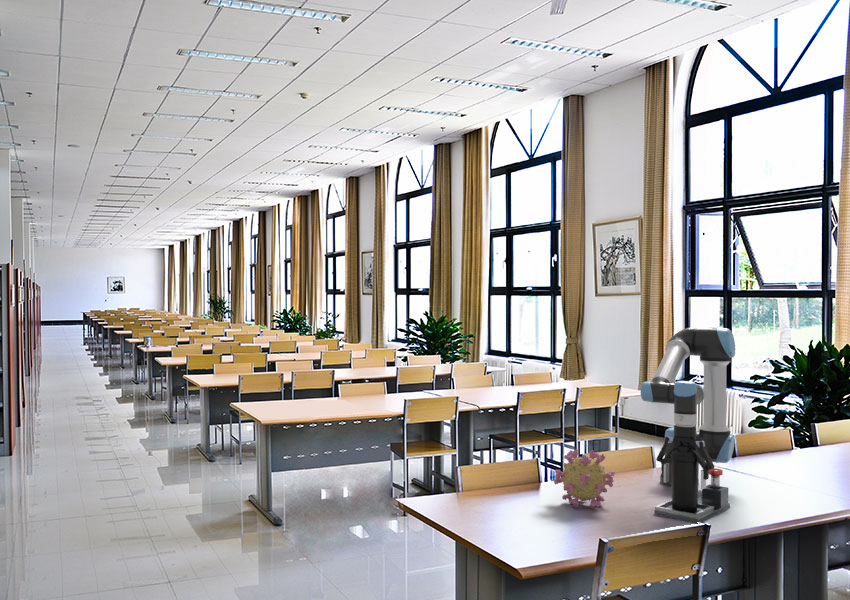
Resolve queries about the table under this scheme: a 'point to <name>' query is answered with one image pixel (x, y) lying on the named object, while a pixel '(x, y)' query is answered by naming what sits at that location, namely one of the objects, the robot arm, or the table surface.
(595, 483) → the educational model
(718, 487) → the pin
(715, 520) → the table surface
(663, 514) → the press
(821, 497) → the table surface
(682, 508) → the water bottle
